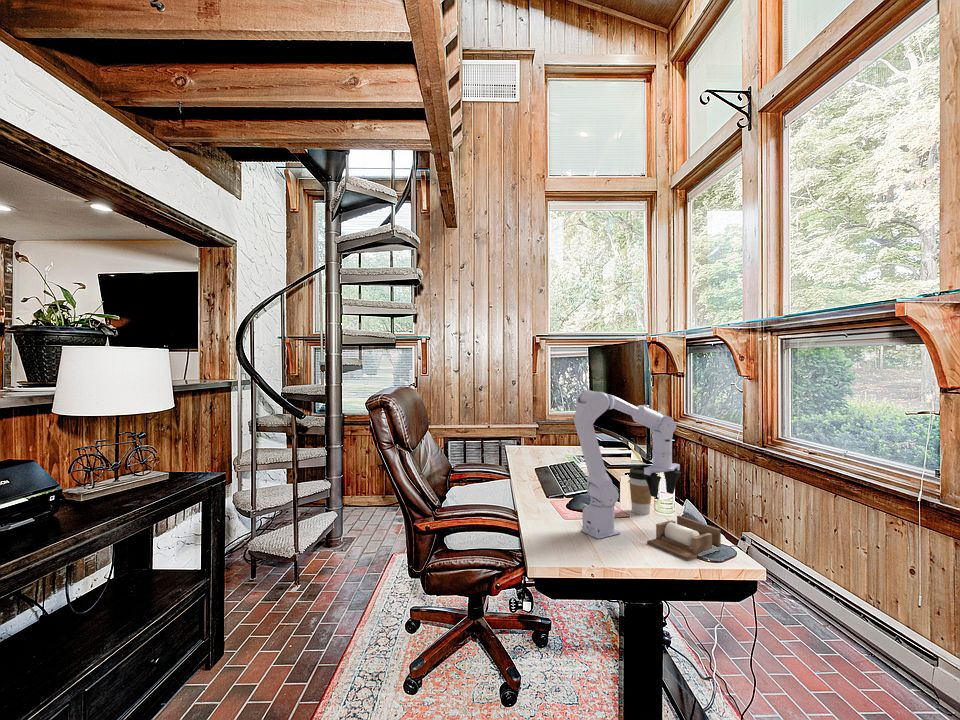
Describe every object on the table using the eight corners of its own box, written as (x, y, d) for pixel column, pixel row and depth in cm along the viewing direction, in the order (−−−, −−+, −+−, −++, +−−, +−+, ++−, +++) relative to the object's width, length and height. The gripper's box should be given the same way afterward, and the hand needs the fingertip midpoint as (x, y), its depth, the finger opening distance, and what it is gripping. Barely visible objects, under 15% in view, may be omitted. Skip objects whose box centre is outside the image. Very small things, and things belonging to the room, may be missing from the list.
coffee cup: (649, 508, 171) (650, 467, 171) (656, 516, 162) (656, 472, 162) (626, 507, 172) (626, 466, 172) (631, 515, 163) (631, 472, 163)
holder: (687, 560, 126) (688, 538, 126) (647, 543, 138) (647, 522, 138) (720, 550, 133) (720, 529, 133) (679, 535, 145) (679, 515, 145)
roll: (687, 548, 131) (691, 530, 131) (662, 538, 138) (665, 521, 139) (698, 550, 133) (702, 532, 134) (673, 540, 140) (676, 523, 141)
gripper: (656, 456, 145) (656, 501, 145) (688, 452, 152) (687, 494, 152) (638, 452, 151) (638, 495, 151) (669, 448, 158) (669, 489, 158)
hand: (662, 494), depth 152 cm, fingers open, 7 cm apart
